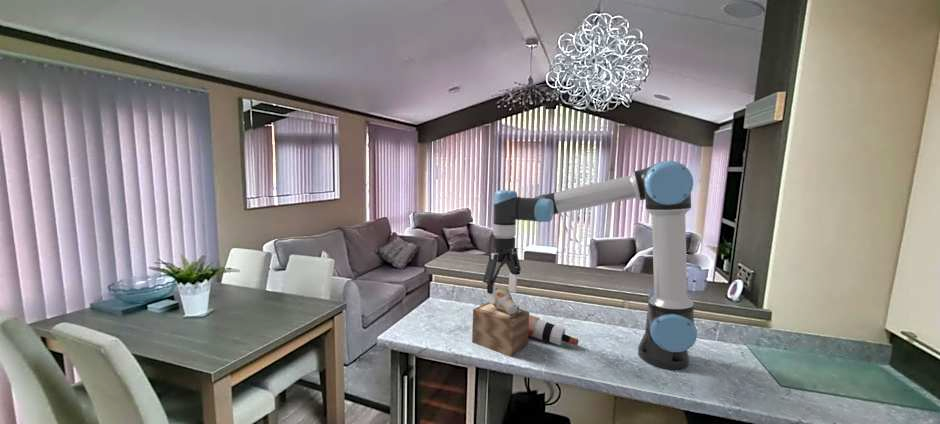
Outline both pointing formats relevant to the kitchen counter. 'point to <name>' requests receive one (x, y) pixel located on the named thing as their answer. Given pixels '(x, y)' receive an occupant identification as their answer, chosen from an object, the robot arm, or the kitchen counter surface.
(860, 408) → the kitchen counter surface
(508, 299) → the mug
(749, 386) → the kitchen counter surface
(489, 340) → the plate
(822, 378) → the kitchen counter surface
